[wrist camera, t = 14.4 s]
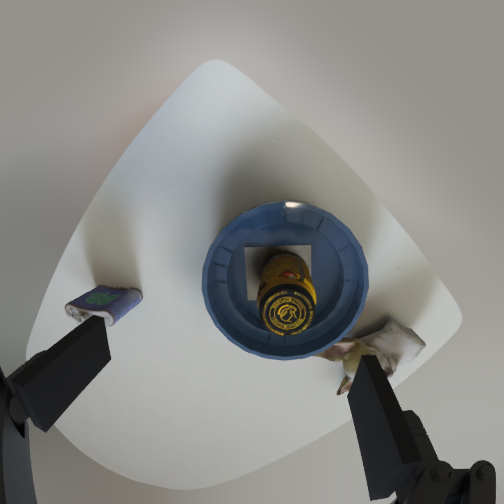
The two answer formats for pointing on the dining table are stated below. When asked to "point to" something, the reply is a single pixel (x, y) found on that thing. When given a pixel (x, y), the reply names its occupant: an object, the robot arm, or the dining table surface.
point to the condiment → (281, 287)
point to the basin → (322, 274)
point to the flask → (104, 304)
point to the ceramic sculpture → (375, 350)
